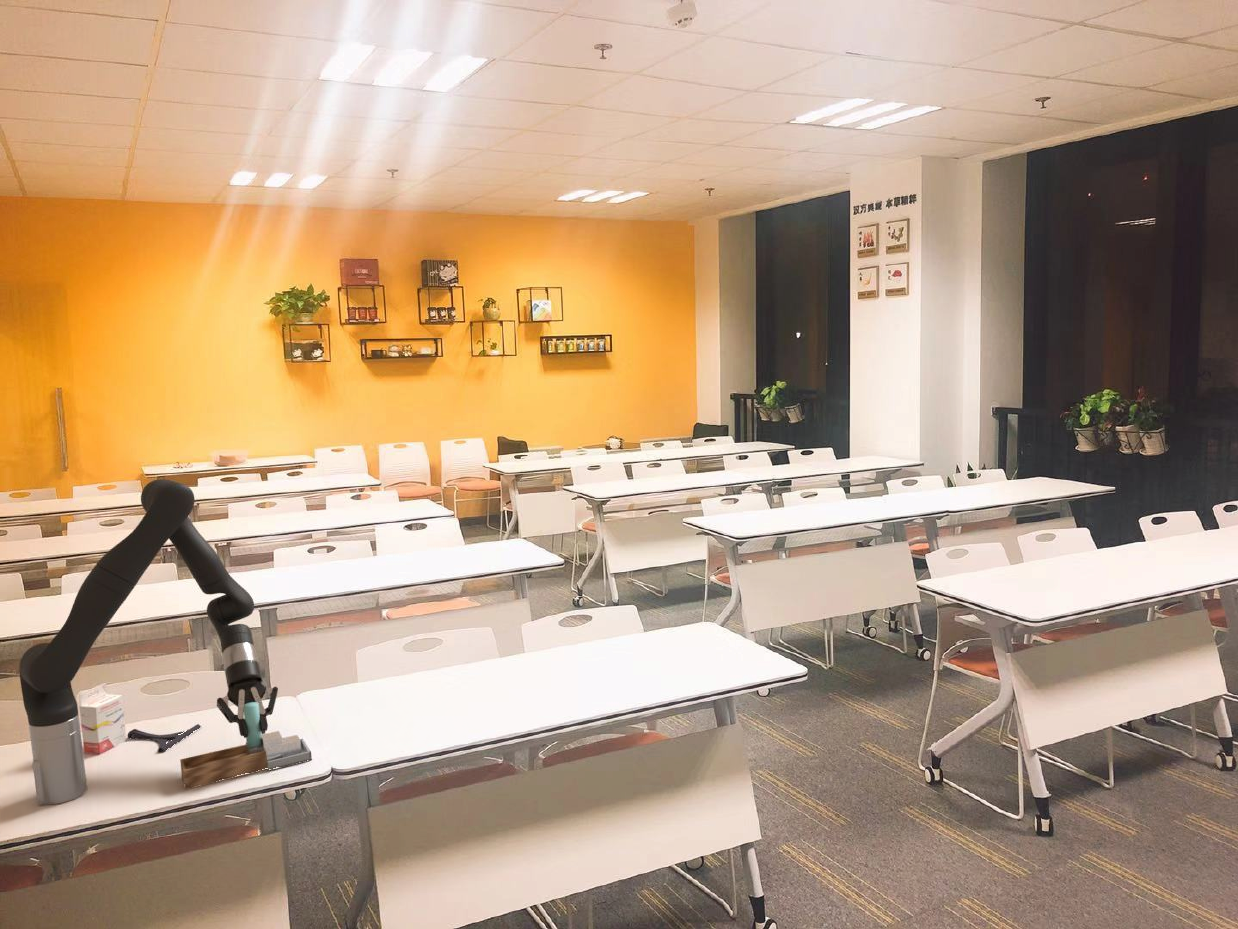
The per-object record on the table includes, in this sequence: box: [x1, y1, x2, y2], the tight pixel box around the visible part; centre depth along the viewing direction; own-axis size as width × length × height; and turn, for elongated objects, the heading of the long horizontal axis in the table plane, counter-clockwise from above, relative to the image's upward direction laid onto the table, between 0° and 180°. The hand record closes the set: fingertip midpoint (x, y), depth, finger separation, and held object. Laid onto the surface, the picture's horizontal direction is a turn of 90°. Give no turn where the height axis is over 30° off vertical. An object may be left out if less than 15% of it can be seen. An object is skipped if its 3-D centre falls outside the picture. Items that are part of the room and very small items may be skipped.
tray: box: [267, 738, 313, 771], centre depth 219 cm, size 10×9×2 cm
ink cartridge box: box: [78, 682, 127, 755], centre depth 230 cm, size 9×5×15 cm, turn 164°
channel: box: [179, 743, 268, 790], centre depth 213 cm, size 17×7×4 cm, turn 120°
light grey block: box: [261, 730, 283, 757], centre depth 217 cm, size 4×4×4 cm
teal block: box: [243, 702, 264, 755], centre depth 215 cm, size 3×5×12 cm, turn 30°
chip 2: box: [280, 734, 301, 758], centre depth 219 cm, size 4×4×4 cm
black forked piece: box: [126, 723, 202, 753], centre depth 234 cm, size 14×15×3 cm
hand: (254, 734), depth 213 cm, fingers closed on teal block, 3 cm apart
